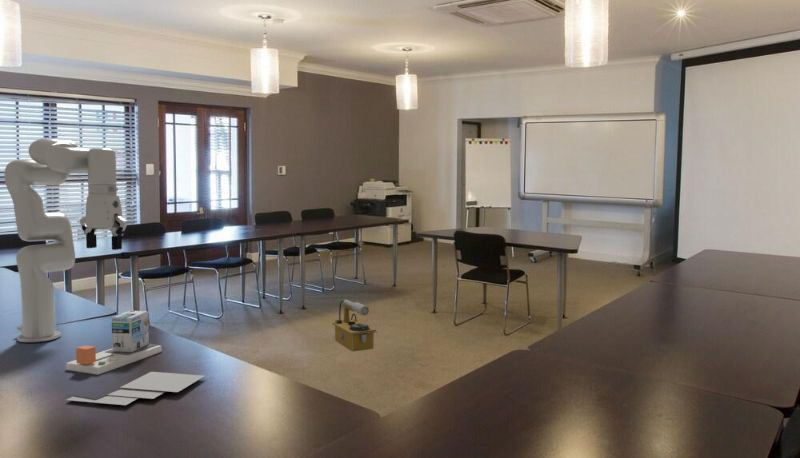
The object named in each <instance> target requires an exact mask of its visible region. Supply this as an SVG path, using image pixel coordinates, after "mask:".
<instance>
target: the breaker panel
mask: <svg viewBox="0 0 800 458" xmlns="http://www.w3.org/2000/svg"><path fill="white" fill-rule="evenodd" d="M162 347H163V346H162V345H161V344H160V345H159V344H156V343H149V344H148V345H146V346H144V347H142V348H140V349H137V350H135V351H133V352H116V351H112V348H109V349H107V350H102V351H100V352H96V362H94V363H91V364H88V365H86V364H79V363H77V362H76V359H74V360H71V361H68V362H65V369H66V371H72V372H76V373H77V372H78V373H84V374H85V373H86V374H91V375H92V374H93V375H96V376H97V375H102V374H104V373H107V372H109V371H112V370H115V369H118V368H121V367H123V366H127V365H129V364H132V363H134V362H137V361H141V360H143V359H146V358H148V357H151V356H154V355H156V354H159V353H162Z"/></svg>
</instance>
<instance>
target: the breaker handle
mask: <svg viewBox="0 0 800 458" xmlns="http://www.w3.org/2000/svg"><path fill="white" fill-rule="evenodd" d="M75 351H76V352H75V357H76V359H75V360H76V362H77V363H79V364H86V365H88V364H91V363H94V362H96V353H97V352H96V346H92V345H87V344H86V345H85V344H84V345H81V346H78V347H76V348H75Z"/></svg>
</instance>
